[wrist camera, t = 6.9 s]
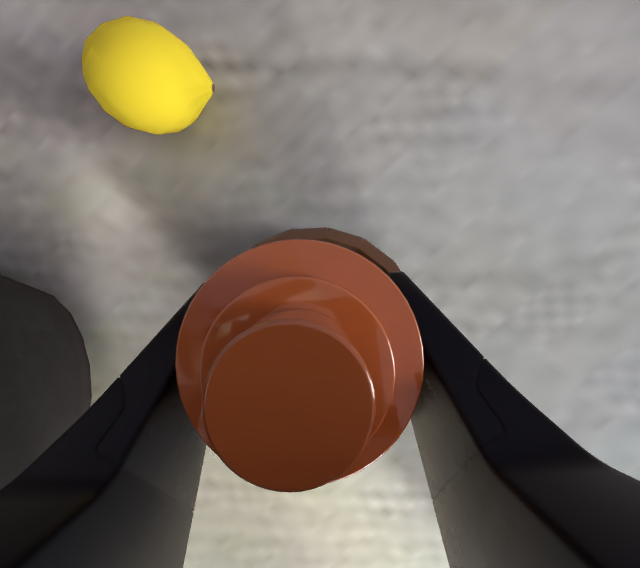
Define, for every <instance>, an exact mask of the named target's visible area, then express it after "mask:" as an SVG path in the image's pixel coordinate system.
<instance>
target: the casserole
mask: <svg viewBox="0 0 640 568" xmlns="http://www.w3.org/2000/svg"><path fill="white" fill-rule="evenodd" d="M91 397H92V394H91V378H90V365H89V361H88V357H87V353H86V349H85V345H84V341H83V337H82V335H81V333H80V331H79V329H78V327H77V325H76V323H75V321H74V319H73V317H72V315H71V313H70V312H69V311H68V310H67V309H66V308H65V307H64V306H63V305H62V304H61V303H60V302H59V301H58V300H57V299H56V298H55V297H54V296H52V295H50V294H47V293H45V292H42V291H40V290H37V289H35V288H32V287H30V286H27V285H25V284H22V283H20V282H17V281H15V280H12V279H10V278H7V277H5V276H2V275H0V490H1V489H2V488H4V487H5V486H6V485H8V484H9V483H10V482H11V481H13V480H14V479H15V478H16V477H17V476H19V475H20V474H21V473H22V472H23V471H24V470H25V469H26V468H27V467H28V466H30V465H31V464H32V463H33V462H34V461H35V460H36V459H37V458H38V457H39V456H40V455H41V454H42V453H43V452H44V451H45V450H46V449H47V448H49V447H50V446H51V445H52V444H53V443H54V442H55V441H56V440H57V439H58V438H59V437H60V436H61V435H62V434H63V433H64V432H65V431H67V430H68V429H69V428H70V427H71V426H72V425H73V424H74V423H75V422H76V421H77V420H78V419H79V418H80V417H81V416H82V415H83V414H84V413H85V412H86V411H87V410H88V409H89V408H90V404H91Z"/></svg>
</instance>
